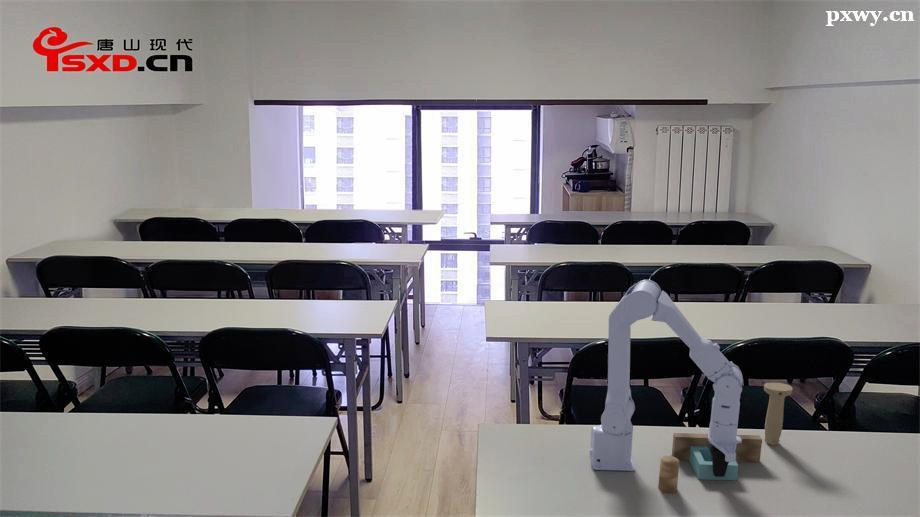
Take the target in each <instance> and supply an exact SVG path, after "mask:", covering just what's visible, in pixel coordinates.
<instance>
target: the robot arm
mask: <svg viewBox="0 0 920 517" xmlns="http://www.w3.org/2000/svg"><path fill="white" fill-rule="evenodd" d="M651 316H652V318H651V321H653V322H659V323H660V322H661V323H665V324H666V325H667V326H668V327H669V328H670V329H671V330H672V331H673V332H674V334H676V336H678V338H679V339H680V340H682V342H683V343H684V344H685V345H686V346H687V347H688V348H689V358H690V359H691V360H692V361H693V363H694V364H696V366H697V367H698V368H699V369H700V370H701V372H702V373H703V374H704V375H705V377H706V378H707V379H709V380H710V381H711V382H713V384H712V388H713V391H714V395H713V397H712V400H711V413H710V422H709V426H708V427H709V428H708V433H707V434H708V441H709V442H710V443H708V444H707V445H708V448H709V450H710V453H711V457H712V465H713V473H714V476H715V477H724V476H725V473H726V470H727V465H728V463H729V462H735V461H736V444H737V443H741V441H742V440H741V438H740V437H739V436H737V435H738V424H739V417H740V416H739V415H740V408H741V407H740V406H741V402H740V399H741V393H742V392H743V374H742V371H741V369H740V367H739V366H738V365H736V364H735V363H733V361H729V360H728V358H727V357H726V356H725V355H724V354H723V353H722V352H721V351H720V348H721V346H720V345H719V344H718V342H712V340H711V339H708V338H707V339H706V338H702V337H701V335H700V334H699V333H698V332H697V331H696V330H695V327H694V326H693V325H691V323H690V322H689V321H688V319H687V318H686V317H685V316H684V314H683V313H682V311H681V310H680V309H679V307H677V305H676V304H675V303H674V301H673V300H672V299H671V297H670V296H669V295H668V293H667V292H666V291H664V290H661V287H660V285H659V284H658V283H657V282H655V281H654V280H651V279H643V280H640V281H638V282H637V283H634V284H633V285H631V287H629V288H628V290H627V291H626V292H625V294H624V295H623V296H622V298H621V299H620V301H619V302H618V303H617V304H616V305H615V306H614V308H613V309H612V311H611V312H610V314H609V316H608V341H607V342H608V351H607V352H608V353H607V393H606V398H605V403H604V405H605V406H604V411H603V413H602V414H601V416H600V422H601V423H600V424H599V425H593V426H592V427H591V431H590V447H589V456H590V457H589V458H590V461H591V465H592V469H593V470H595V471H597V470H598V471H625V472H626V471H628V472H632V471H633V472H634V471H635V470H636V469H635V465H634V462H633V459H632V451H633V450H632V448H633V438H634V437H633V436H634V435H633V434H634V425H633V424H632V421H631V419H632V416H633V415H634V412H635V410H636V406H635V401H634V400H633V398H632V390H631V387H630V382H631V380H630V378H631V377H630V375H631V374H630V373H631V369H630V368H631V326H632V325H634V324H635V323H636V322H637V321H640V320H644V319H647V318H649V317H651Z"/></svg>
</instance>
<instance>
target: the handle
mask: <svg viewBox="0 0 920 517" xmlns="http://www.w3.org/2000/svg"><path fill="white" fill-rule="evenodd" d="M793 389H794V388H793V387H792V386H791V385H790V384H788V383H787V384H786V383H783V382H766V383H764V385H763V391H764V392H765V393H766V394H768V395H769V400H768V405H767V411H766V416H765V420H764V421H765V423H764V441H765V443H766V445H771V446H773V447H774V446H776V445H779V443H780V439H781V436H782V435H781V434H782V431H783V426H784V425H783V423H784V409H785V398H786V397H788V396H791V395H792V394H793Z"/></svg>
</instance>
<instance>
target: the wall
mask: <svg viewBox="0 0 920 517" xmlns="http://www.w3.org/2000/svg"><path fill="white" fill-rule="evenodd" d="M708 434H709V433H693V432H692V433H687V432H685V433H684V432H683V433H682V432H673V437H672V438H673V439H672V448H671V449H672V450H671V451H672V452H671V456H673V457H675V458H677V459H678V460H679V461H690V460H689V459H690V448H691V446H708V445H707V444H708V443H710V442H709V441H708ZM737 436H739V437H740V438H741V440H742V441H741V443H737V444H736V462H737V463H738V462H739V463H760V462H761V453H762V446H763V438H762V437H761V435H760V434H759V435H754V434H737Z"/></svg>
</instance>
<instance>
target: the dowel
mask: <svg viewBox="0 0 920 517" xmlns="http://www.w3.org/2000/svg"><path fill="white" fill-rule="evenodd" d="M659 460H660V462H659V473H658V474H659V475H658V486H657V487H658V488H657V489H658V490H659V491H661V492H662V493H664V494H675V493H677V491H678V485H679V484H678V481H679V469H680V460H678V459H677V458H675V457H673V456H672V455H664V456H662V457H660V459H659Z"/></svg>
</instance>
